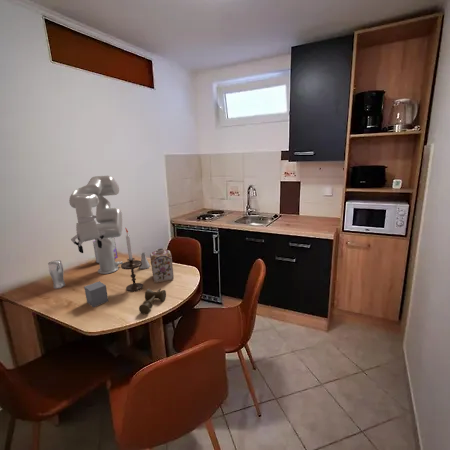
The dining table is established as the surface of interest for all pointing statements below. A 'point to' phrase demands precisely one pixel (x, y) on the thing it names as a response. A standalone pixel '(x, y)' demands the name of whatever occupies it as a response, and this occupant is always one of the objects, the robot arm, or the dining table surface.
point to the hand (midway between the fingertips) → (91, 250)
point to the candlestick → (131, 267)
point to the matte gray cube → (96, 294)
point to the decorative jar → (161, 265)
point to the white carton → (113, 249)
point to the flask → (144, 261)
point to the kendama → (151, 299)
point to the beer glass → (56, 273)
